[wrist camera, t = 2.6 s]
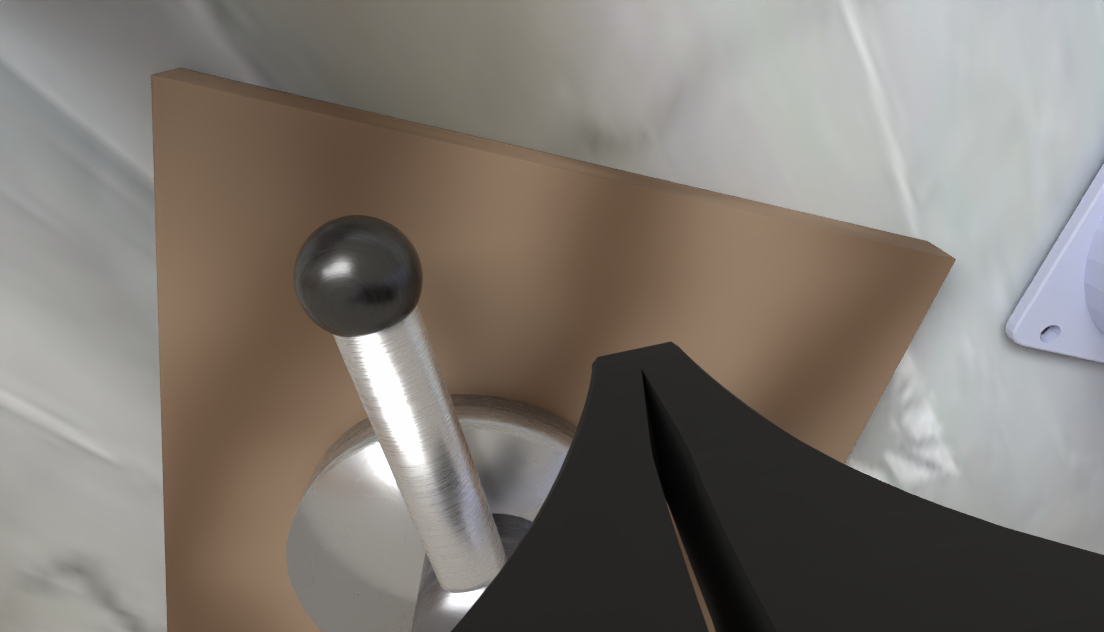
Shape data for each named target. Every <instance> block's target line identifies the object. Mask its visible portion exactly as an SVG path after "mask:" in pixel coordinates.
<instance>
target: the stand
mask: <svg viewBox="0 0 1104 632" xmlns="http://www.w3.org/2000/svg"><path fill="white" fill-rule="evenodd" d="M151 85H152V119H153V154H154V188H155V222H156V256H157V290H158V324H159V358H160V392H161V427H162V461H163V495H164V529H165V563H166V597H167V631H168V632H322V631H321V630H320V628H319V627H318V626H317V625H316V624H315V623H314V622H313V621H312V620H311V619H310V617H309V616H308V615H307V613H306V612H305V610H304V609H303V607H302V606H301V604H300V603H299V601H298V598H297V596H296V594H295V592H294V590H293V588H292V585H291V581H290V578H289V574H288V570H287V560H286V547H287V537H288V533H289V530H290V526H291V523H292V520H293V517H294V515H295V513H296V510H297V508H298V506H299V504H300V501H301V499H302V497H303V494H304V492H305V490H306V488H307V485H308V483H309V481H310V479H311V477H312V474H313V472H314V470H315V468H316V466H317V464H318V463H319V461H320V460H321V458H322V457H323V456H324V454H325V453H326V451H327V450H328V449H329V448H330V447H331V446H332V445H333V444H334V443H335V442H336V441H337V440H338V439H339V438H340V436H341V435H343V434H344V433H345V432H347V431H348V430H349V429H351V428H352V427H353V426H355V425H356V424H357V423H359V422H360V421H362V420H364V419H366V418H368V416H367V413H366V411H365V409H364V406H363V404H362V402H361V399H360V397H359V395H358V392H357V390H356V388H355V385H354V383H353V381H352V378H351V376H350V374H349V371H348V369H347V367H346V364H345V362H344V360H343V357H342V355H341V353H340V350H339V348H338V346H337V343H336V341H335V339H334V336H333V334H331V333H329V332H327V331H325V330H324V329H322V328H321V327H319V326H318V325H317V324H315V323H314V322H313V321H312V320H311V319H310V318H309V317H308V315H307V314H306V313H305V311H304V310H303V308H302V307H301V305H300V303H299V301H298V298H297V296H296V293H295V288H294V279H293V272H294V265H295V261H296V257H297V254H298V252H299V250H300V248H301V246H302V245H303V243H304V241H305V240H306V239H307V238H308V236H309V235H310V234H311V233H312V232H314V231H315V230H316V229H317V228H318V227H320V226H321V225H323V224H324V223H326V222H328V221H331V220H333V219H336V218H339V217H342V216H348V215H365V216H371V217H376V218H379V219H382V220H384V221H386V222H388V223H390V224H392V225H393V226H395V227H397V228H398V229H399V230H400V231H401V232H403V233H404V234H405V235H406V237H407V238H408V239H409V240H410V241H411V243H412V244H413V246H414V247H415V249H416V251H417V253H418V255H419V258H420V261H421V265H422V271H423V286H422V291H421V295H420V298H419V301H418V306H419V309H420V312H421V314H422V317H423V320H424V323H425V326H426V329H427V331H428V334H429V337H430V340H431V343H432V346H433V349H434V351H435V354H436V357H437V360H438V363H439V366H440V368H441V371H442V374H443V377H444V380H445V383H446V385H447V388H448V391H449V394H476V395H490V396H496V397H501V398H506V399H512V400H516V401H519V402H522V403H526V404H529V405H532V406H535V407H538V408H540V409H542V410H545V411H547V412H549V413H552V414H554V415H556V416H558V417H559V418H561V419H563V420H565V421H566V422H568V423H570V424H571V425H573V426H575V427H576V428H577V427H578V424H579V421H580V418H581V414H582V411H583V408H584V405H585V402H586V398H587V394H588V390H589V385H590V380H591V373H592V363H593V362H594V361H595V359H596V358H597V357H600V356H604V355H609V354H614V353H619V352H623V351H628V350H633V349H637V348H642V347H647V346H652V345H656V344H661V343H666V342H670V341H671V342H673V343H674V344H676V345H677V346H679V347H680V348H681V349H682V350H683V351H684V352H685V353H686V354H687V355H688V356H689V357H690V358H691V359H692V360H693V361H694V362H695V363H696V364H697V365H699V366H700V367H701V368H702V369H703V370H704V371H705V372H707V373H708V374H709V375H710V376H711V377H712V378H713V379H715V380H716V381H717V382H718V383H720V384H721V385H722V386H723V387H724V388H726V389H727V390H728V391H730V392H731V393H732V394H734V395H735V396H736V397H737V398H739V399H740V400H741V401H743V402H744V403H745V404H746V405H748V406H749V407H751V408H752V409H753V410H755V411H756V412H758V413H759V414H760V415H762V416H763V417H765V418H766V419H768V420H769V421H771V422H772V423H774V424H775V425H777V426H778V427H780V428H781V429H783V430H784V431H786V432H787V433H789V434H791V435H792V436H794V437H795V438H797V439H799V440H800V441H802V442H804V443H806V444H807V445H809V446H811V447H813V448H815V449H817V450H818V451H820V452H822V453H824V454H826V455H828V456H830V457H831V458H833V459H835V460H837V461H839V462H841V463H843V464H845V462H846V460H847V458H848V456H849V454H850V453H851V451H852V449H853V447H854V445H855V443H856V442H857V440H858V438H859V436H860V434H861V432H862V431H863V429H864V427H865V425H866V423H867V421H868V420H869V418H870V416H871V414H872V412H873V410H874V409H875V407H876V405H877V403H878V401H879V399H880V397H881V396H882V394H883V392H884V390H885V388H886V386H887V385H888V383H889V381H890V379H891V377H892V375H893V374H894V372H895V370H896V368H897V366H898V364H899V363H900V361H901V359H902V357H903V355H904V353H905V352H906V350H907V348H908V346H909V344H910V342H911V341H912V339H913V337H914V335H915V333H916V331H917V330H918V328H919V326H920V324H921V322H922V320H923V319H924V317H925V315H926V313H927V311H928V309H929V308H930V306H931V304H932V302H933V300H934V298H935V297H936V295H937V293H938V291H939V289H940V287H941V286H942V284H943V282H944V280H945V278H946V276H947V275H948V273H949V271H950V269H951V267H952V265H953V264H954V262H955V260H956V259H955V258H953V257H952V256H950V255H948V254H947V253H945V252H944V251H942V250H941V249H939V248H938V247H936V246H934V245H933V244H931V243H930V242H928V241H924V240H920V239H915V238H911V237H907V236H902V235H898V234H894V233H889V232H885V231H881V230H876V229H872V228H868V227H863V226H859V225H855V224H851V223H846V222H842V221H838V220H833V219H829V218H825V217H820V216H816V215H812V214H807V213H803V212H799V211H794V210H790V209H786V208H781V207H777V206H773V205H769V204H764V203H760V202H756V201H751V200H747V199H743V198H738V197H734V196H730V195H725V194H721V193H717V192H712V191H708V190H704V189H699V188H695V187H691V186H687V185H682V184H678V183H674V182H669V181H665V180H661V179H656V178H652V177H648V176H643V175H639V174H635V173H630V172H626V171H622V170H617V169H613V168H609V167H605V166H600V165H596V164H592V163H587V162H583V161H579V160H574V159H570V158H566V157H561V156H557V155H553V154H548V153H544V152H540V151H535V150H531V149H527V148H523V147H518V146H514V145H510V144H505V143H501V142H497V141H492V140H488V139H484V138H479V137H475V136H471V135H466V134H462V133H458V132H453V131H449V130H445V129H441V128H436V127H432V126H428V125H423V124H419V123H415V122H410V121H406V120H402V119H397V118H393V117H389V116H384V115H380V114H376V113H371V112H367V111H363V110H359V109H354V108H350V107H346V106H341V105H337V104H333V103H328V102H324V101H320V100H315V99H311V98H307V97H302V96H298V95H294V94H289V93H285V92H281V91H277V90H272V89H268V88H264V87H259V86H255V85H251V84H246V83H242V82H238V81H233V80H229V79H225V78H220V77H216V76H212V75H207V74H203V73H199V72H195V71H190V70H186V69H182V68H178V69H174V70H169V71H165V72H161V73H157V74H153V75H151ZM667 506H668V504H667ZM668 510H669V513H670V516H671V519H672V522H673V526H674V529H675V532H676V535H677V538H678V542H679V545H680V548H681V551H682V554H683V557H684V560H685V563H686V566H687V569H688V572H689V575H690V578H691V581H692V584H693V587H694V590H695V593H696V596H697V599H698V602H699V605H700V608H701V610H702V613H703V616H704V619H705V622H706V625H707V628H708V631H709V632H716V631H715V628H714V625H713V622H712V619H711V617H710V614H709V611H708V609H707V606H706V603H705V601H704V598H703V596H702V593H701V590H700V588H699V585H698V583H697V580H696V577H695V575H694V572H693V569H692V567H691V564H690V562H689V559H688V556H687V554H686V551H685V549H684V546H683V543H682V541H681V538H680V535H679V533H678V530H677V527H676V525H675V522H674V520H673V517H672V514H671V512H670V509H669V506H668Z"/></svg>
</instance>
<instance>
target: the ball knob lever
mask: <svg viewBox="0 0 1104 632" xmlns="http://www.w3.org/2000/svg"><path fill="white" fill-rule="evenodd" d="M293 279H294V288H295V293H296V296H297V298H298V301H299V303H300V305H301V307H302V308H303V310H304V311H305V313H306V314H307V315H308V317H309V318H310V319H311V320H312V321H313V322H314V323H315V324H317V325H318V326H319V327H321V328H322V329H324V330H325V331H327V332H329V333H331V334H333V336H334V339H335V341H336V343H337V346H338V348H339V350H340V353H341V355H342V357H343V360H344V362H345V364H346V367H347V369H348V371H349V374H350V376H351V378H352V381H353V383H354V385H355V388H356V390H357V392H358V395H359V397H360V399H361V402H362V404H363V406H364V409H365V411H366V413H367V416H368V418H366V419H364V420H362V421H360V422H359V423H357V424H356V425H355V426H353V427H352V428H351V429H349V430H348V431H347V432H345V433H344V434H343V435H341V436H340V438H339V439H338V440H337V441H336V442H335V443H334V444H333V445H332V446H331V447H330V448H329V449H328V450H327V451H326V453H325V454H324V456H323V457H322V458H321V460H320V461H319V463H318V464H317V466H316V468H315V470H314V472H313V474H312V477H311V479H310V481H309V483H308V485H307V488H306V490H305V492H304V494H303V497H302V499H301V501H300V504H299V506H298V508H297V510H296V513H295V515H294V517H293V520H292V523H291V526H290V530H289V533H288V537H287V547H286V560H287V570H288V574H289V578H290V581H291V585H292V588H293V590H294V592H295V594H296V596H297V598H298V601H299V603H300V604H301V606H302V607H303V609H304V610H305V612H306V613H307V615H308V616H309V617H310V619H311V620H312V621H313V622H314V623H315V624H316V625H317V626H318V627H319V628H320V630H321V631H322V632H451V631H452V629H453V628H454V627H455V626H456V625H457V624H458V623H459V621H460V620H461V619H462V618H463V617H464V615H465V614H466V613H467V612H468V610H469V609H470V608H471V607H472V605H473V604H474V603H475V602H476V600H477V599H478V598H479V597H480V595H481V594H482V593H483V592H484V590H485V589H486V588H487V587H488V585H489V584H490V583H491V582H492V580H493V579H494V578H495V577H496V575H497V574H498V573H499V571H500V570H501V569H502V567H503V566H504V565H505V563H506V562H507V560H508V559H509V557H510V556H511V555H512V553H513V552H514V550H515V549H516V547H517V545H518V544H519V542H520V541H521V539H522V538H523V536H524V535H525V533H526V531H527V530H528V528H529V527H530V525H531V524H532V522H533V520H534V519H535V517H536V515H537V513H538V512H539V510H540V508H541V506H542V505H543V503H544V501H545V499H546V497H547V495H548V494H549V492H550V490H551V488H552V486H553V484H554V482H555V480H556V478H557V476H558V473H559V471H560V469H561V467H562V464H563V462H564V460H565V457H566V455H567V452H568V450H569V448H570V445H571V443H572V441H573V438H574V435H575V433H576V430H577V428H576V427H575V426H573V425H571V424H570V423H568V422H566V421H565V420H563V419H561V418H559V417H558V416H556V415H554V414H552V413H549V412H547V411H545V410H542V409H540V408H538V407H535V406H532V405H529V404H526V403H522V402H519V401H516V400H512V399H506V398H501V397H496V396H490V395H476V394H449V391H448V388H447V385H446V383H445V380H444V377H443V374H442V371H441V368H440V366H439V363H438V360H437V357H436V354H435V351H434V349H433V346H432V343H431V340H430V337H429V334H428V331H427V329H426V326H425V323H424V320H423V317H422V314H421V312H420V309H419V306H418V301H419V298H420V295H421V291H422V286H423V271H422V265H421V261H420V258H419V255H418V253H417V251H416V249H415V247H414V246H413V244H412V243H411V241H410V240H409V239H408V238H407V237H406V235H405V234H404V233H403V232H401V231H400V230H399V229H398V228H397V227H395V226H393V225H392V224H390V223H388V222H386V221H384V220H382V219H379V218H376V217H371V216H365V215H348V216H342V217H339V218H336V219H333V220H331V221H328V222H326V223H324V224H323V225H321V226H320V227H318V228H317V229H316V230H315V231H314V232H312V233H311V234H310V235H309V236H308V238H307V239H306V240H305V241H304V243H303V245H302V246H301V248H300V250H299V252H298V254H297V257H296V261H295V265H294V272H293Z"/></svg>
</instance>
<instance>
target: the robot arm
mask: <svg viewBox="0 0 1104 632" xmlns="http://www.w3.org/2000/svg"><path fill="white" fill-rule="evenodd" d="M1048 326H1049V329H1048V330H1047V331H1046V332H1045V333H1043V334H1041V332H1042V331H1043V330H1044V329H1045V328H1046V327H1048ZM1005 329H1006V334H1007V336H1008V337H1009V338H1010V339H1011V340H1013V341H1014V342H1015V343H1017V344H1019V345H1021V346H1025V347H1030V348H1034V349H1039V350H1044V351H1049V352H1053V353H1058V354H1063V355H1067V356H1072V357H1077V358H1081V359H1086V360H1091V361H1096V362H1100V363H1104V164H1103V166H1102V167H1101V169H1100V170H1099V172H1098V174H1097V175H1096V177H1095V179H1094V180H1093V182H1092V184H1091V185H1090V187H1089V188H1088V190H1087V192H1086V193H1085V195H1084V197H1083V198H1082V200H1081V202H1080V203H1079V205H1078V207H1077V208H1076V210H1075V211H1074V213H1073V215H1072V216H1071V218H1070V220H1069V221H1068V223H1067V225H1066V226H1065V228H1064V229H1063V231H1062V233H1061V234H1060V236H1059V238H1058V239H1057V241H1056V243H1055V244H1054V246H1053V248H1052V249H1051V251H1050V252H1049V254H1048V256H1047V257H1046V259H1045V261H1044V262H1043V264H1042V266H1041V267H1040V269H1039V271H1038V272H1037V274H1036V275H1035V277H1034V279H1033V280H1032V282H1031V284H1030V285H1029V287H1028V289H1027V290H1026V292H1025V293H1024V295H1023V297H1022V298H1021V300H1020V302H1019V303H1018V305H1017V307H1016V308H1015V310H1014V312H1013V313H1012V315H1011V316H1010V318H1009V320H1008V322H1007V324H1006V327H1005ZM1040 334H1041V335H1040ZM667 504H668V506H669V509H670V512H671V514H672V517H673V520H674V522H675V525H676V527H677V530H678V533H679V535H680V538H681V541H682V543H683V546H684V549H685V551H686V554H687V556H688V559H689V562H690V564H691V567H692V569H693V572H694V575H695V577H696V580H697V583H698V585H699V588H700V590H701V593H702V596H703V598H704V601H705V603H706V606H707V609H708V611H709V614H710V617H711V619H712V622H713V625H714V628H715V631H716V632H1104V555H1101V554H1097V553H1094V552H1090V551H1087V550H1083V549H1080V548H1076V547H1072V546H1069V545H1065V544H1062V543H1058V542H1055V541H1051V540H1047V539H1044V538H1040V537H1037V536H1033V535H1030V534H1026V533H1022V532H1019V531H1015V530H1012V529H1008V528H1005V527H1002V526H999V525H996V524H993V523H990V522H987V521H984V520H981V519H979V518H976V517H973V516H970V515H967V514H964V513H961V512H958V511H955V510H953V509H950V508H947V507H944V506H941V505H939V504H936V503H933V502H931V501H928V500H926V499H923V498H920V497H918V496H915V495H913V494H910V493H908V492H905V491H903V490H901V489H898V488H896V487H894V486H891V485H889V484H887V483H885V482H882V481H880V480H878V479H875V478H873V477H871V476H869V475H866V474H864V473H862V472H860V471H858V470H855V469H853V468H851V467H849V466H847V465H845V464H843V463H841V462H839V461H837V460H835V459H833V458H831V457H830V456H828V455H826V454H824V453H822V452H820V451H818V450H817V449H815V448H813V447H811V446H809V445H807V444H806V443H804V442H802V441H800V440H799V439H797V438H795V437H794V436H792V435H791V434H789V433H787V432H786V431H784V430H783V429H781V428H780V427H778V426H777V425H775V424H774V423H772V422H771V421H769V420H768V419H766V418H765V417H763V416H762V415H760V414H759V413H758V412H756V411H755V410H753V409H752V408H751V407H749V406H748V405H746V404H745V403H744V402H743V401H741V400H740V399H739V398H737V397H736V396H735V395H734V394H732V393H731V392H730V391H728V390H727V389H726V388H724V387H723V386H722V385H721V384H720V383H718V382H717V381H716V380H715V379H713V378H712V377H711V376H710V375H709V374H708V373H707V372H705V371H704V370H703V369H702V368H701V367H700V366H699V365H697V364H696V363H695V362H694V361H693V360H692V359H691V358H690V357H689V356H688V355H687V354H686V353H685V352H684V351H683V350H682V349H681V348H680V347H679V346H677V345H676V344H674V343H673V342H671V341H670V342H666V343H661V344H656V345H652V346H647V347H642V348H637V349H633V350H628V351H623V352H619V353H614V354H609V355H604V356H600V357H597V358H596V359H595V361H594V362H593V363H592V373H591V380H590V385H589V390H588V394H587V398H586V402H585V405H584V408H583V411H582V414H581V418H580V421H579V424H578V427H577V430H576V433H575V435H574V438H573V441H572V443H571V445H570V448H569V450H568V452H567V455H566V457H565V460H564V462H563V464H562V467H561V469H560V471H559V473H558V476H557V478H556V480H555V482H554V484H553V486H552V488H551V490H550V492H549V494H548V495H547V497H546V499H545V501H544V503H543V505H542V506H541V508H540V510H539V512H538V513H537V515H536V517H535V519H534V520H533V522H532V524H531V525H530V527H529V528H528V530H527V531H526V533H525V535H524V536H523V538H522V539H521V541H520V542H519V544H518V545H517V547H516V549H515V550H514V552H513V553H512V555H511V556H510V557H509V559H508V560H507V562H506V563H505V565H504V566H503V567H502V569H501V570H500V571H499V573H498V574H497V575H496V577H495V578H494V579H493V580H492V582H491V583H490V584H489V585H488V587H487V588H486V589H485V590H484V592H483V593H482V594H481V595H480V597H479V598H478V599H477V600H476V602H475V603H474V604H473V605H472V607H471V608H470V609H469V610H468V612H467V613H466V614H465V615H464V617H463V618H462V619H461V620H460V621H459V623H458V624H457V625H456V626H455V627H454V628H453V629H452V631H451V632H709V631H708V628H707V625H706V622H705V619H704V616H703V613H702V610H701V608H700V605H699V602H698V599H697V596H696V593H695V590H694V587H693V584H692V581H691V578H690V575H689V572H688V569H687V566H686V563H685V560H684V557H683V554H682V551H681V548H680V545H679V542H678V538H677V535H676V532H675V529H674V526H673V522H672V519H671V516H670V513H669V510H668V506H667Z"/></svg>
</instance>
